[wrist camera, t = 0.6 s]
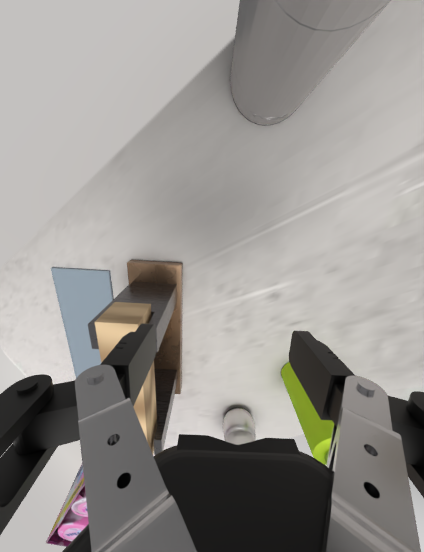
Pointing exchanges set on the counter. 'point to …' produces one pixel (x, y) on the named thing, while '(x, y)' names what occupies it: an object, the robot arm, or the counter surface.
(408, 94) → the counter surface
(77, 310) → the slate mat
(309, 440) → the soap dispenser
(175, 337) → the hook rack
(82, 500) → the gum box
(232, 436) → the plastic bottle
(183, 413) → the counter surface
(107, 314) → the oak rail
